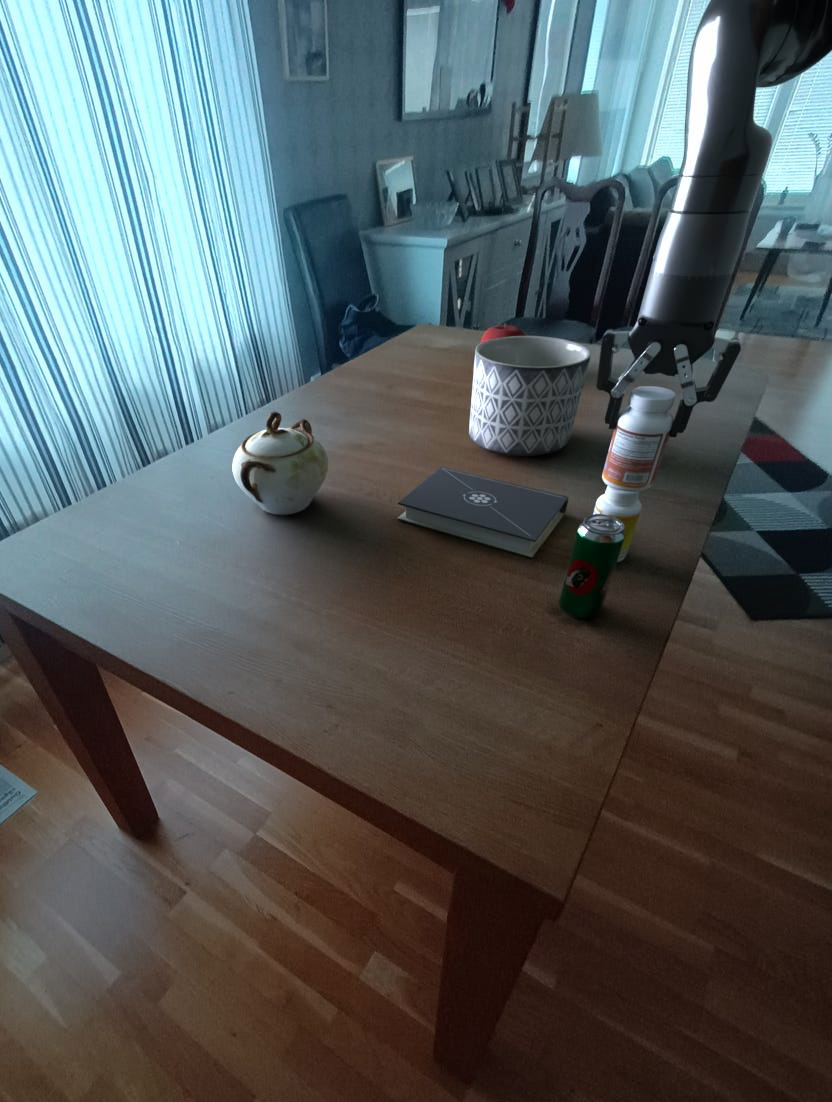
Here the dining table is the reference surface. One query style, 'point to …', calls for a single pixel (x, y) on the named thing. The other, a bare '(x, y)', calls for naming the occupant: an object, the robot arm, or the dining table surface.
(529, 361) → the planter
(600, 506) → the supplement bottle
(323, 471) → the sugar bowl
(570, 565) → the soda can
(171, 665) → the dining table surface
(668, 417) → the pill bottle
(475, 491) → the book
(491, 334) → the apple
